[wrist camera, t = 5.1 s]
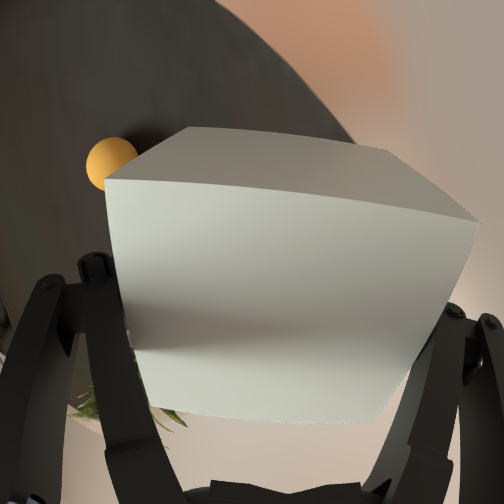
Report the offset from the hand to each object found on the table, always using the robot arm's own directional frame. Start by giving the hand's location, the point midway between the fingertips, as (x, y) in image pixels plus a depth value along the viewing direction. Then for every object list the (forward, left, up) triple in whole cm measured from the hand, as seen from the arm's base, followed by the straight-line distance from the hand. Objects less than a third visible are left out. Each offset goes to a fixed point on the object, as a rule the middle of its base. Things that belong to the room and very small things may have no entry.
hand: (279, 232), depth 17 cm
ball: (0, -15, -11) cm, 18 cm away
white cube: (0, 0, -1) cm, 1 cm away
